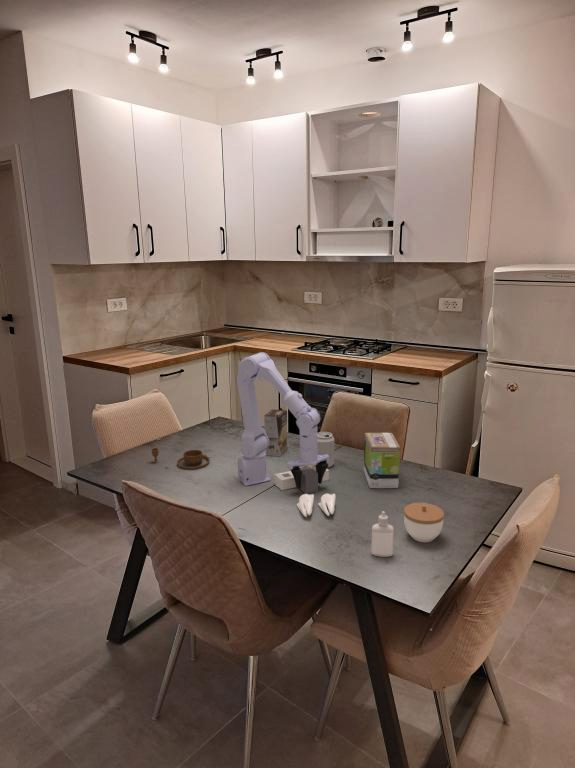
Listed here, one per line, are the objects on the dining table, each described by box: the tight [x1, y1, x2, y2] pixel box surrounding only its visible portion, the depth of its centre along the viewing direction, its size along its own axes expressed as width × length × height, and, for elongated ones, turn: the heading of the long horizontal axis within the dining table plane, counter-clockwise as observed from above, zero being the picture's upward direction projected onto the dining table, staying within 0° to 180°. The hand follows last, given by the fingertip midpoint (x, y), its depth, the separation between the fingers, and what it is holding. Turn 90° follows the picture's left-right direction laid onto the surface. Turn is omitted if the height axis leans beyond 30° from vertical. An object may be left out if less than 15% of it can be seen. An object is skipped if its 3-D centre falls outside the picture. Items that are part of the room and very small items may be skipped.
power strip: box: [274, 468, 330, 491], centre depth 189 cm, size 18×6×4 cm, turn 116°
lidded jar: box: [403, 502, 445, 543], centre depth 152 cm, size 11×11×9 cm
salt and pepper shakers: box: [296, 492, 337, 518], centre depth 168 cm, size 12×4×11 cm
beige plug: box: [306, 465, 316, 471], centre depth 190 cm, size 4×4×3 cm
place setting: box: [151, 447, 211, 471], centre depth 208 cm, size 18×20×6 cm
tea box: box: [363, 432, 401, 489], centre depth 189 cm, size 15×10×15 cm
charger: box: [299, 466, 319, 495], centre depth 184 cm, size 4×9×6 cm, turn 26°
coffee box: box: [263, 408, 288, 457], centre depth 215 cm, size 9×6×16 cm
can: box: [317, 431, 335, 469], centre depth 202 cm, size 8×8×12 cm
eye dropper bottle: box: [370, 511, 395, 558], centre depth 144 cm, size 4×6×12 cm
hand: (308, 485), depth 183 cm, fingers open, 7 cm apart
